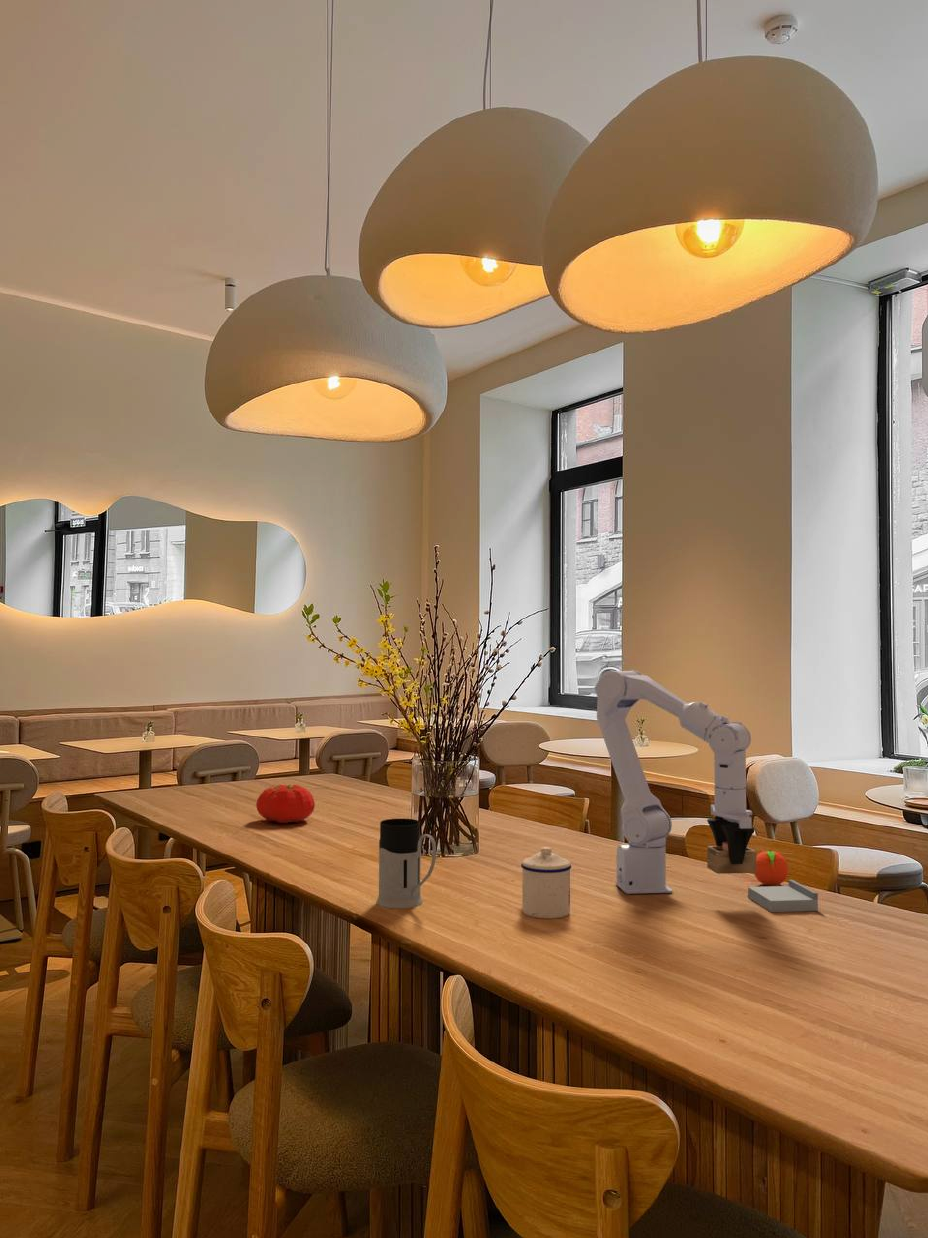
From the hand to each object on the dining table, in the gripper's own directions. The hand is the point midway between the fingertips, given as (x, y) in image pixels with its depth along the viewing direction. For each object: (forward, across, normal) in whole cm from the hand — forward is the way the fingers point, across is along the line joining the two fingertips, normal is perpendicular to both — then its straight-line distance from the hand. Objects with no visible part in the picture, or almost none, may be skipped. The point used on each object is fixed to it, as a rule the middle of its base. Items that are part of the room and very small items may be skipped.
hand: (730, 860), depth 171 cm
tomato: (+9, +93, +90) cm, 130 cm away
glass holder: (+9, +6, +60) cm, 61 cm away
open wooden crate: (+2, 0, 0) cm, 2 cm away
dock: (+8, 0, -10) cm, 13 cm away
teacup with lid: (+9, 0, +36) cm, 37 cm away
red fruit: (+9, +13, -14) cm, 21 cm away
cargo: (-1, 0, 0) cm, 1 cm away
